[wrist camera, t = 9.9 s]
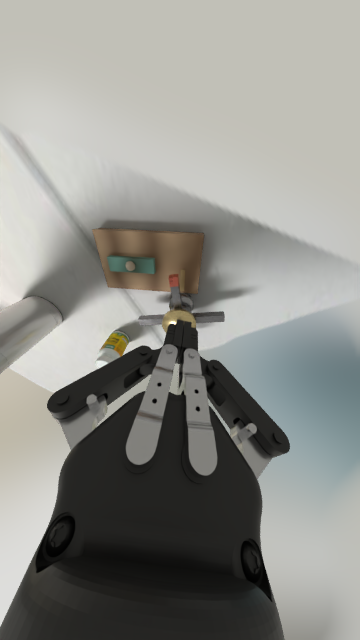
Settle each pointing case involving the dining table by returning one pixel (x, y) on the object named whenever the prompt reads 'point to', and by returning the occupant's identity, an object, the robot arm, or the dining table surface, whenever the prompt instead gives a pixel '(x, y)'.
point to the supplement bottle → (112, 348)
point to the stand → (149, 258)
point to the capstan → (180, 309)
